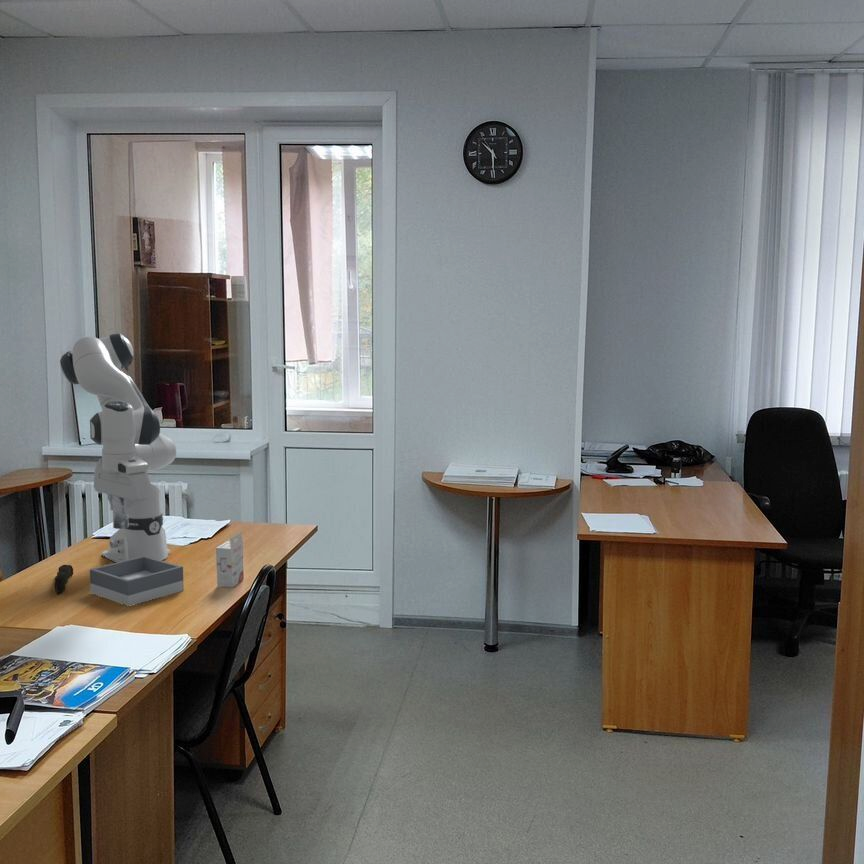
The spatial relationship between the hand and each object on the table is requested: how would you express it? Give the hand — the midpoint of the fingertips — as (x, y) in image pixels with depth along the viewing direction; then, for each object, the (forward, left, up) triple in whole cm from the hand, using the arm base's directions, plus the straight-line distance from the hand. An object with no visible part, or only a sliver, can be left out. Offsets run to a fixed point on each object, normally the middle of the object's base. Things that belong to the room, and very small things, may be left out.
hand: (120, 512), depth 247 cm
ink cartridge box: (+12, +28, -25) cm, 39 cm away
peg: (0, 0, -4) cm, 4 cm away
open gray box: (-2, +6, -24) cm, 25 cm away
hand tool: (-24, -4, -25) cm, 34 cm away
